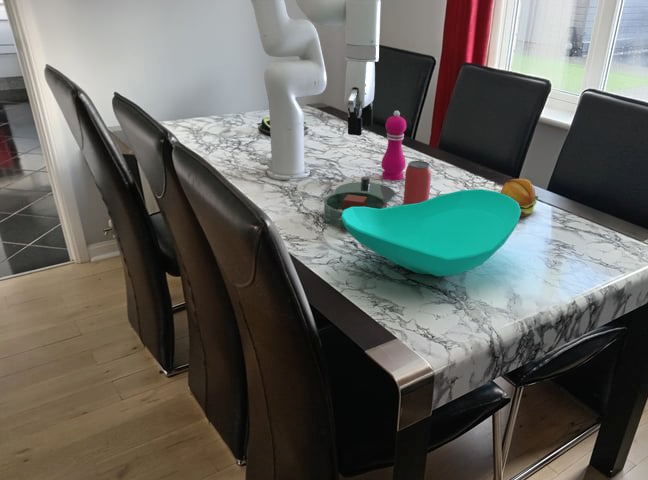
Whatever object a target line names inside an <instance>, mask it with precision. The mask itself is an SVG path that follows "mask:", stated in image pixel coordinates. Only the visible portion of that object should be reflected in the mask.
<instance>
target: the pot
mask: <svg viewBox="0 0 648 480" xmlns="http://www.w3.org/2000/svg"><path fill="white" fill-rule="evenodd" d="M348 194H349V195H356V196H363V197H367V207H370V208H376V209H384V208H388V202H386V201H385V199H383V198H381V197H380V196H378V195H375V194H371V192H368V191H361V192H359V191H346V192H339V193H335V192H334V193H331V194H329V195H327V196H326V197H325V198H324V199H323V220H324V221H325V222H326V223H328V224H329V225H330V226H333V227H336V228H338V229H344V230H347V229H346V228H345V226H344V224H343V221H342V218H341V216H342V212H343V211H341V210H338V209H340V208H342V209H343V200H344V198H345V197H346V196H347V195H348Z"/></svg>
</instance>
